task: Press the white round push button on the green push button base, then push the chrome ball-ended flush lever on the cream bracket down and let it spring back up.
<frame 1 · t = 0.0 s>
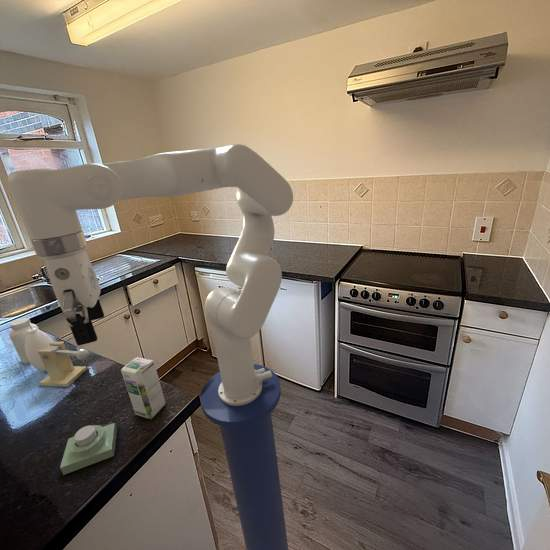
hand: (92, 329, 58), 31 cm above the countertop, tool pointing down, fingers open, 9 cm apart
lever bracket: (64, 377, 95), on the countertop
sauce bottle: (49, 369, 101), on the countertop
white round push button: (85, 436, 67), point 5 cm above the countertop, slide at 0.1 cm
syrup box: (151, 409, 79), on the countertop
pill bottle: (36, 357, 108), on the countertop
flush lever: (67, 352, 91), point 10 cm above the countertop, hinge at -5.4°
green push button base: (92, 450, 69), on the countertop
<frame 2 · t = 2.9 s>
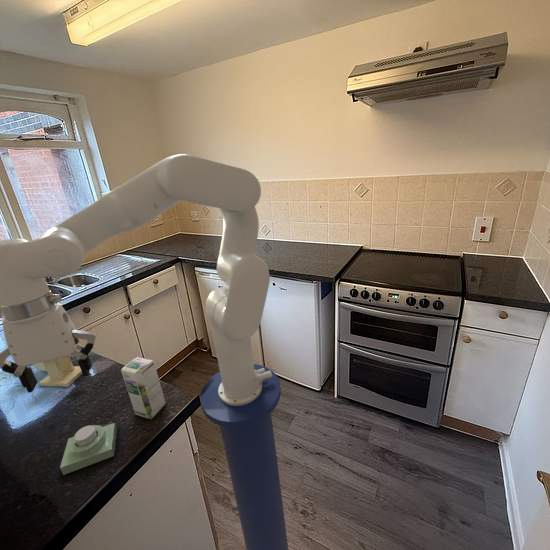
hand: (61, 379, 62), 20 cm above the countertop, tool pointing down, fingers open, 9 cm apart
flush lever: (67, 353, 91), point 9 cm above the countertop, hinge at -7.4°
everything else where it was.
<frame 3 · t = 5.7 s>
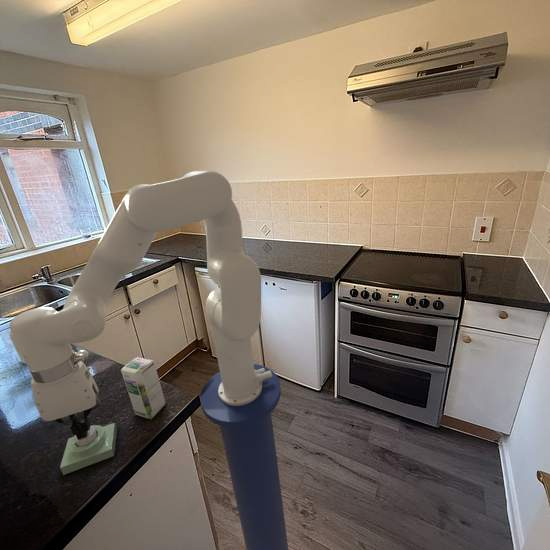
hand: (83, 433, 67), 5 cm above the countertop, tool pointing down, fingers closed
white round push button: (86, 436, 67), point 4 cm above the countertop, slide at -0.1 cm, touching gripper
everything else where it was.
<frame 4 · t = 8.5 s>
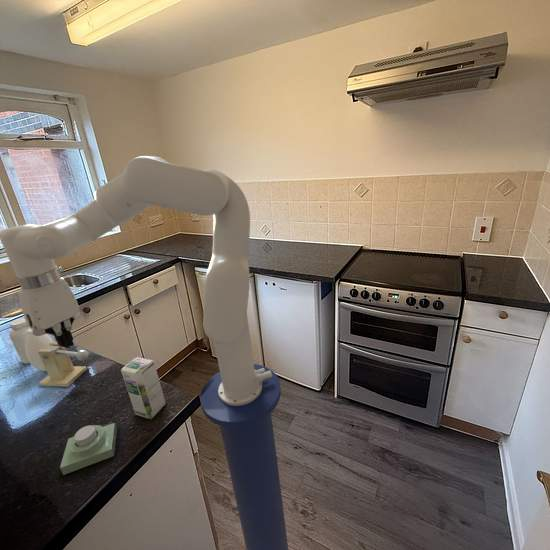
hand: (67, 345, 76), 20 cm above the countertop, tool pointing down, fingers closed
white round push button: (85, 436, 67), point 5 cm above the countertop, slide at 0.1 cm
everything else where it was.
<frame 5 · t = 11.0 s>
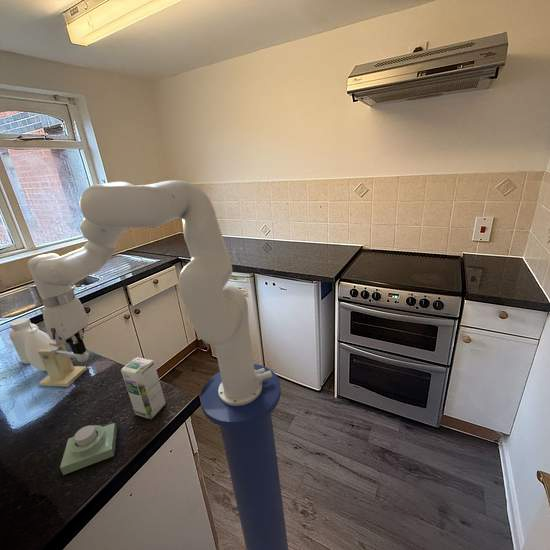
hand: (80, 352, 90), 10 cm above the countertop, tool pointing down, fingers closed
flush lever: (68, 354, 91), point 9 cm above the countertop, hinge at -10.6°, touching gripper
everything else where it was.
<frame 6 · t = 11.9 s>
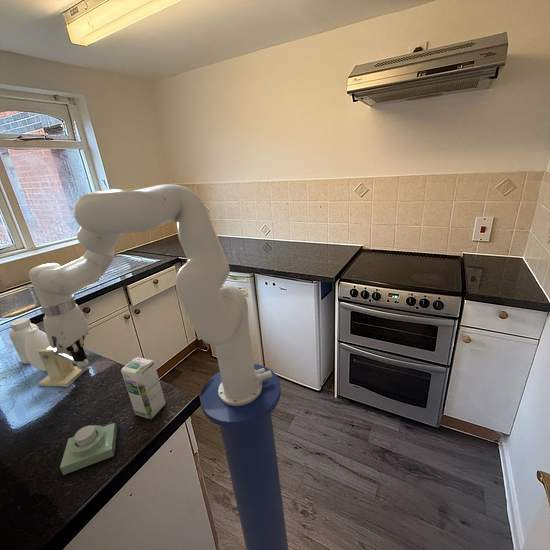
hand: (80, 359, 91), 7 cm above the countertop, tool pointing down, fingers closed
flush lever: (68, 357, 92), point 8 cm above the countertop, hinge at -27.2°, touching gripper
everything else where it was.
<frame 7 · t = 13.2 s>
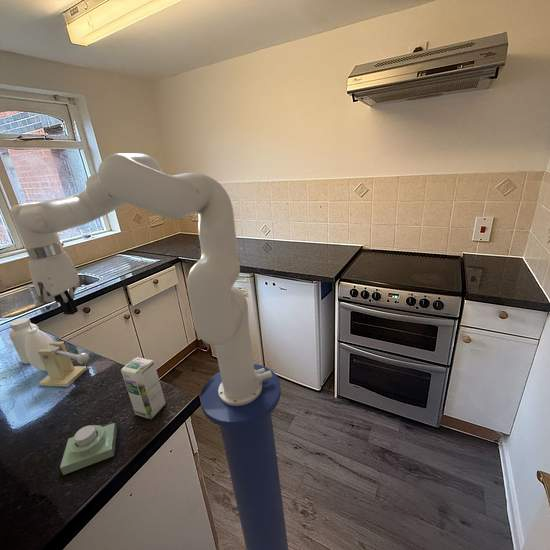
hand: (71, 312, 84), 23 cm above the countertop, tool pointing down, fingers closed
flush lever: (68, 354, 91), point 9 cm above the countertop, hinge at -14.1°
everything else where it was.
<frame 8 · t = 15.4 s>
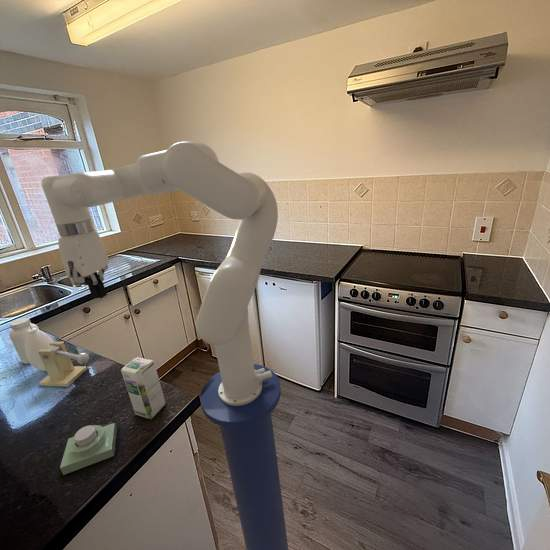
hand: (99, 296, 79), 29 cm above the countertop, tool pointing down, fingers closed
nothing on the countertop moved.
at the end: white round push button pushed in 1.1 cm at the most during the clip, back to where it started at the end; white round push button slide at 0.1 cm; flush lever reached -27° during the clip, -14° at the end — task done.
